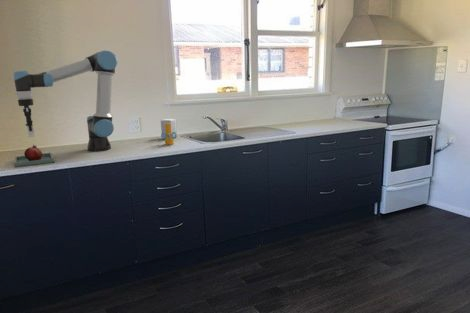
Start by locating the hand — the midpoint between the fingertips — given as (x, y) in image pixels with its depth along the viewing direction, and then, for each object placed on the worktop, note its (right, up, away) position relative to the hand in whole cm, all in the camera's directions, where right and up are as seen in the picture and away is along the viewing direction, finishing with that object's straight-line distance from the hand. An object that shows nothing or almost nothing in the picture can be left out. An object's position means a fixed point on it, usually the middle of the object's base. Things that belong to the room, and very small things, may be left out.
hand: (31, 135), depth 216 cm
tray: (0, -16, +3) cm, 16 cm away
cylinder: (+72, -4, +48) cm, 87 cm away
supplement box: (+68, +2, +73) cm, 100 cm away
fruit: (0, -15, +3) cm, 16 cm away
